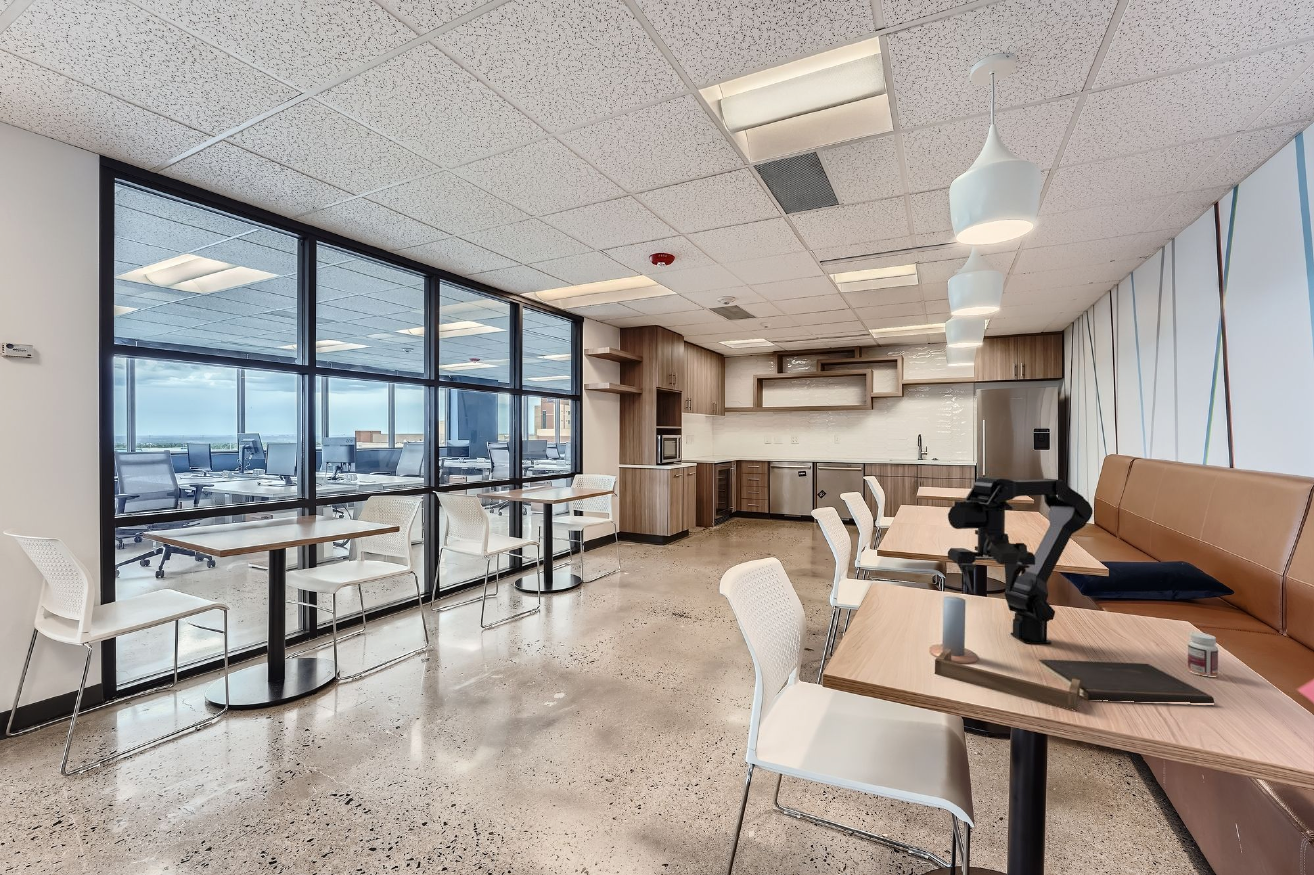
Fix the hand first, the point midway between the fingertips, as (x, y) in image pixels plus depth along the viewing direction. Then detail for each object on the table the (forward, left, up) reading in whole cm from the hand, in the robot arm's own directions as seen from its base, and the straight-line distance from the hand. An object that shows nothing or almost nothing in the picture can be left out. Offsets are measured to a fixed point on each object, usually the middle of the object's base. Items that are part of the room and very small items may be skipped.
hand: (990, 590), depth 139 cm
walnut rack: (+10, +23, -13) cm, 28 cm away
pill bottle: (-37, +16, -13) cm, 42 cm away
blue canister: (+13, +8, -12) cm, 20 cm away
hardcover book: (-14, +23, -14) cm, 30 cm away
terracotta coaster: (+13, +8, -13) cm, 20 cm away
